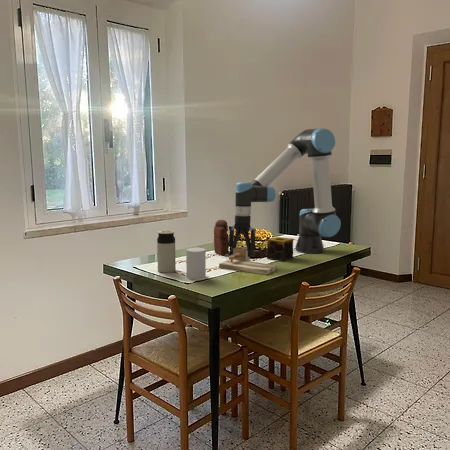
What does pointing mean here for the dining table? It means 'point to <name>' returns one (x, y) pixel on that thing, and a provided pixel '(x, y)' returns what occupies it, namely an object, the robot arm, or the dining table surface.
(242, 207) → the robot arm
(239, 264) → the board
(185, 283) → the dining table surface
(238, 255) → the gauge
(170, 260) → the travel mug
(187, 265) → the grey cylinder
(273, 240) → the candle
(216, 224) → the wooden figurine
